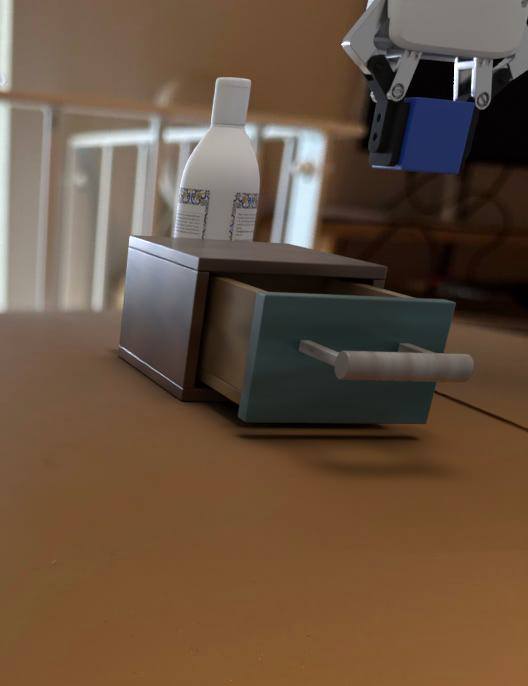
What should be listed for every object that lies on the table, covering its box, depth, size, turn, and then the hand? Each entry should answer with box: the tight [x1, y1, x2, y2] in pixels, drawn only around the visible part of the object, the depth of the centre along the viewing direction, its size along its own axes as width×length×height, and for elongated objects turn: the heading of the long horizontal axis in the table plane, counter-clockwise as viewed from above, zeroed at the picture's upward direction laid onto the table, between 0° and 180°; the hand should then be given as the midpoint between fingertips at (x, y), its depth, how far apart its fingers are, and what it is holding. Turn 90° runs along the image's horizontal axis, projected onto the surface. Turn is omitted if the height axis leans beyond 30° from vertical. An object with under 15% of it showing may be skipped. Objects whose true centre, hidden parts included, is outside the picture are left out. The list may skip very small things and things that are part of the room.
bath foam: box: [173, 76, 261, 242], centre depth 85 cm, size 7×7×20 cm
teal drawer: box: [196, 272, 475, 425], centre depth 56 cm, size 19×11×7 cm, turn 12°
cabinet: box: [117, 234, 388, 403], centre depth 67 cm, size 15×13×9 cm
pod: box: [371, 96, 475, 175], centre depth 69 cm, size 4×4×4 cm
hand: (415, 165), depth 70 cm, fingers closed on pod, 4 cm apart
